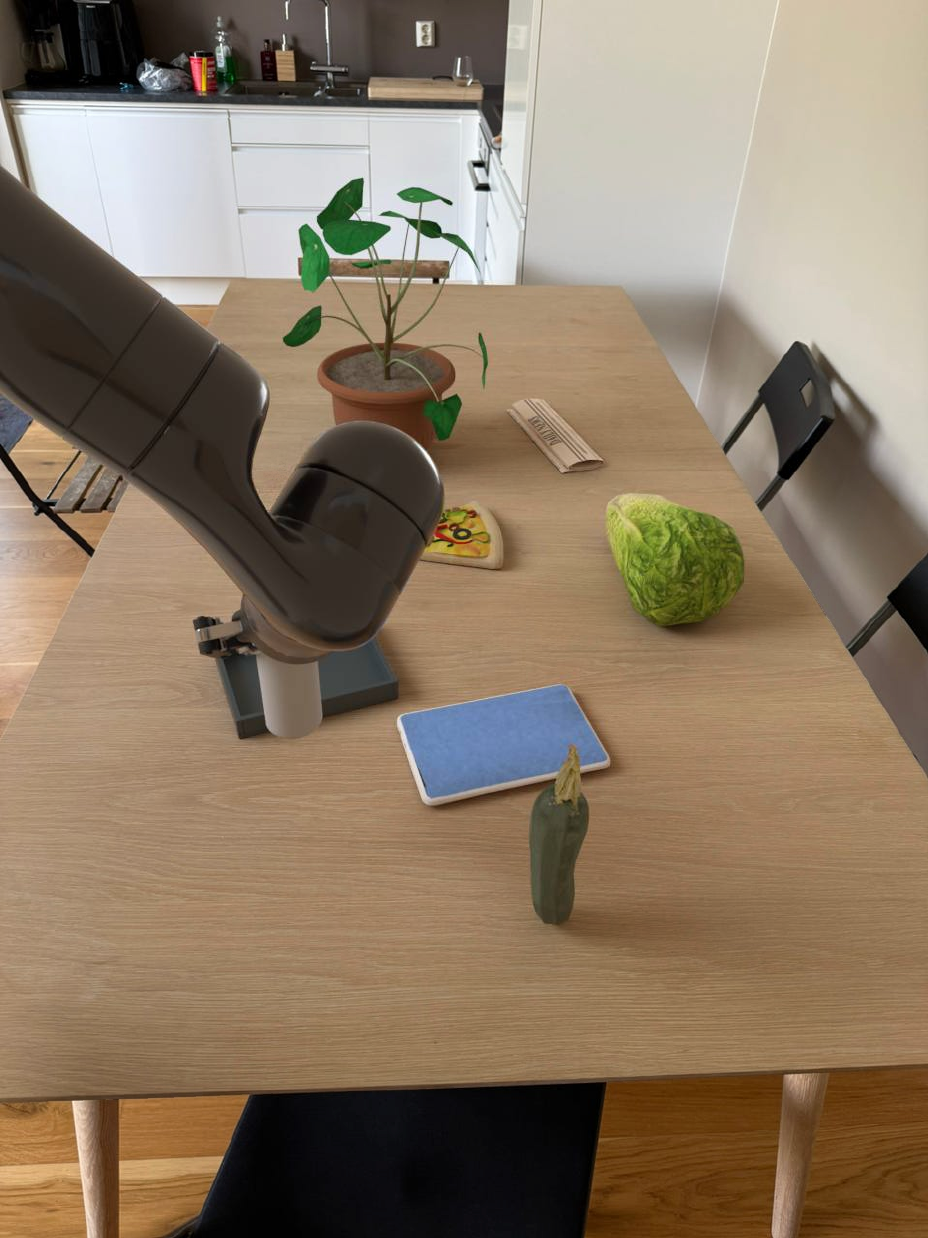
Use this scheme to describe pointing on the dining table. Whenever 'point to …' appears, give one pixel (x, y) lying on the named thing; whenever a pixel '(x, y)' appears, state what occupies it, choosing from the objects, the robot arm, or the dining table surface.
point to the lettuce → (673, 558)
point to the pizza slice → (466, 538)
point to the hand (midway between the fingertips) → (280, 635)
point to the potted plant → (386, 372)
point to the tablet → (497, 743)
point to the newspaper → (554, 436)
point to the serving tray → (341, 678)
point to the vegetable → (557, 842)
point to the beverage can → (290, 697)
